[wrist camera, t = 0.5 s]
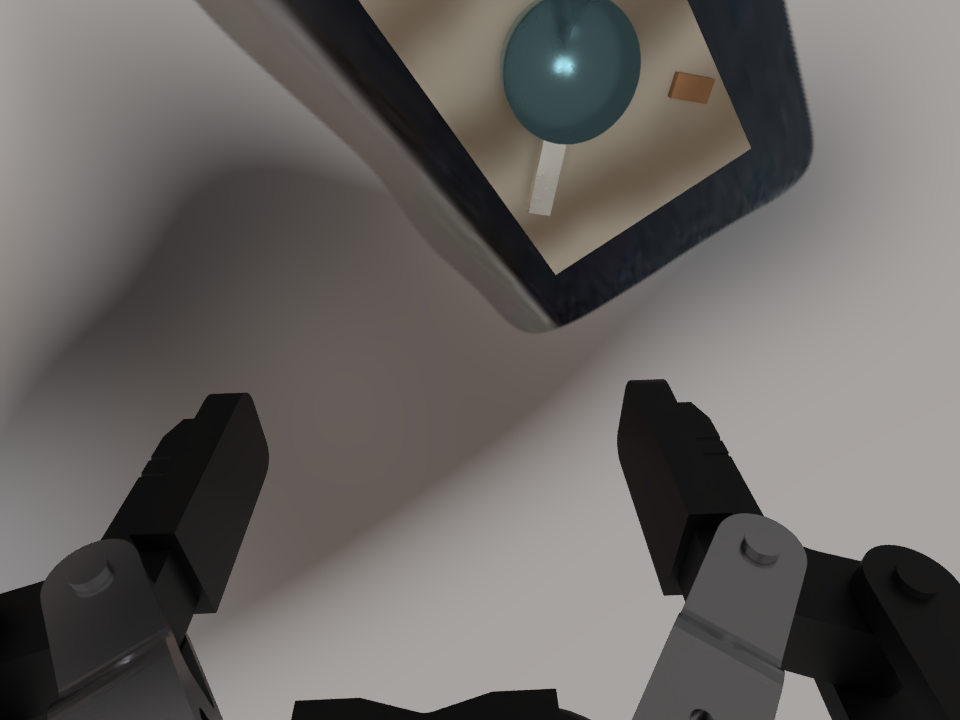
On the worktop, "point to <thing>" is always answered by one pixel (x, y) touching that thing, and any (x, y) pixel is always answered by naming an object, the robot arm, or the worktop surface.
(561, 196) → the stand
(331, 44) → the worktop surface
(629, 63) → the teal knob with stem
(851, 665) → the robot arm
